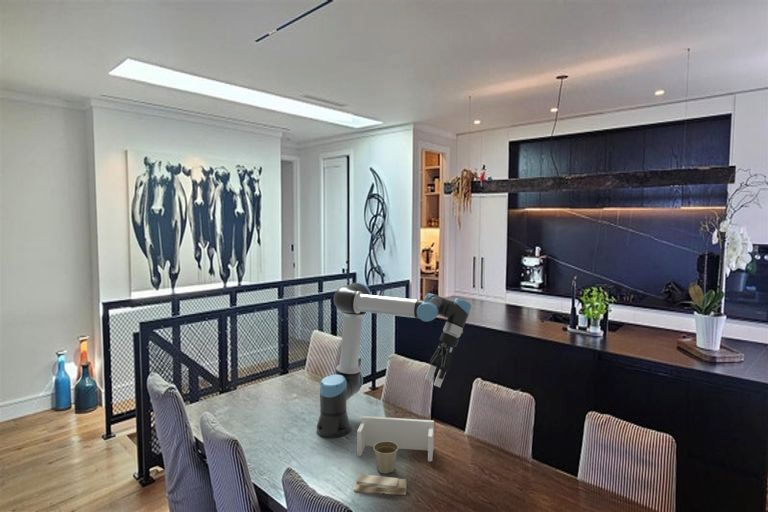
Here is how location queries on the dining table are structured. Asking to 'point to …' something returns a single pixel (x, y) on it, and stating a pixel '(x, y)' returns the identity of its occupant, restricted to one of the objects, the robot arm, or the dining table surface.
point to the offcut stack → (380, 484)
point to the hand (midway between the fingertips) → (432, 383)
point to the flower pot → (386, 456)
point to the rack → (396, 433)
